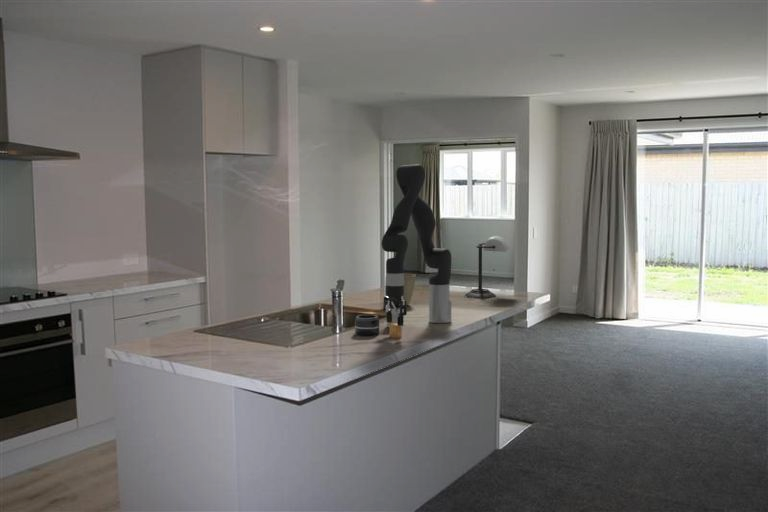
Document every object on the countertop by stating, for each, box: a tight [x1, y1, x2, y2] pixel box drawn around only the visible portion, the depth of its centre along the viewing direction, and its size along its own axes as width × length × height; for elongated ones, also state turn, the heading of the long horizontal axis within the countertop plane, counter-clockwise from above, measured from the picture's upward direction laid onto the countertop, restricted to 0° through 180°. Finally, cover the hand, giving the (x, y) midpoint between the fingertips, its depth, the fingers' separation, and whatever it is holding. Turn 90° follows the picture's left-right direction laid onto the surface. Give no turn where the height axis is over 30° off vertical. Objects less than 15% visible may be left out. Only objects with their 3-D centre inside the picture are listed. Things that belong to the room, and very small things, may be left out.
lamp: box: [464, 235, 510, 299], centre depth 370 cm, size 26×24×34 cm
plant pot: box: [403, 273, 417, 306], centre depth 343 cm, size 15×15×16 cm
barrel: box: [354, 314, 380, 337], centre depth 272 cm, size 10×10×7 cm
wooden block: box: [388, 323, 403, 339], centre depth 267 cm, size 5×6×5 cm
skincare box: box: [385, 295, 405, 328], centre depth 289 cm, size 8×7×16 cm
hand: (394, 323), depth 266 cm, fingers open, 8 cm apart
